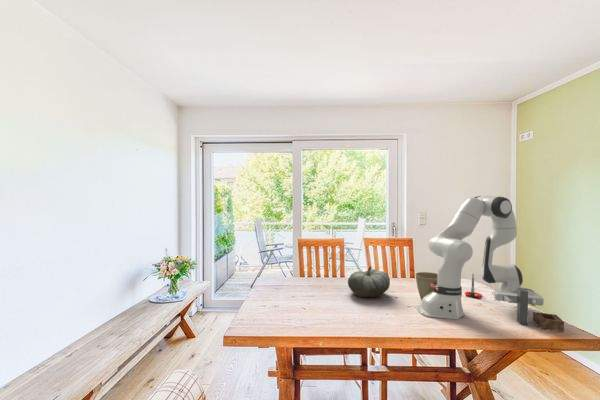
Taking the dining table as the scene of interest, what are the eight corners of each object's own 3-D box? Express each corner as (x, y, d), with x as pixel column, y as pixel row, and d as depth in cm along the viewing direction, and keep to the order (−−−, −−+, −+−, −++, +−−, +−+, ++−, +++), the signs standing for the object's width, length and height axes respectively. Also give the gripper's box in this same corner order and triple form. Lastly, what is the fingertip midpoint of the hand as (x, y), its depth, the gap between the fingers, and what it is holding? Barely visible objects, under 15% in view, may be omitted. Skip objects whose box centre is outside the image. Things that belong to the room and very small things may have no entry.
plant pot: (447, 309, 163) (447, 279, 163) (417, 307, 166) (418, 278, 166) (440, 299, 178) (440, 272, 177) (413, 297, 181) (413, 271, 180)
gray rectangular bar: (519, 324, 144) (520, 290, 144) (516, 320, 149) (517, 287, 148) (527, 325, 143) (528, 291, 143) (524, 321, 147) (524, 288, 147)
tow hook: (465, 292, 192) (463, 296, 184) (466, 270, 192) (464, 273, 184) (482, 295, 187) (481, 299, 179) (482, 272, 187) (481, 275, 179)
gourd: (400, 294, 179) (394, 265, 179) (365, 307, 170) (359, 276, 170) (375, 286, 202) (370, 261, 202) (343, 297, 193) (338, 270, 193)
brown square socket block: (539, 328, 139) (539, 318, 139) (533, 321, 148) (533, 311, 148) (564, 332, 136) (564, 322, 136) (556, 324, 144) (556, 314, 144)
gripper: (491, 285, 163) (496, 293, 150) (537, 290, 155) (548, 299, 142) (490, 297, 163) (496, 306, 150) (537, 302, 155) (547, 312, 142)
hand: (522, 302), depth 146 cm, fingers open, 8 cm apart
